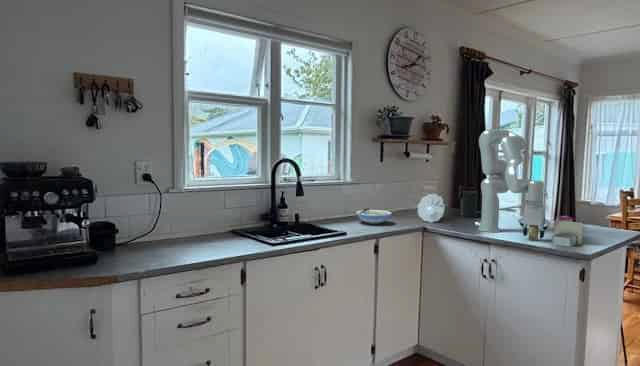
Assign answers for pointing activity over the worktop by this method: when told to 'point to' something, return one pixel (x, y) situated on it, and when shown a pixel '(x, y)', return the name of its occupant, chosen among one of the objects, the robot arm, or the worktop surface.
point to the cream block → (567, 233)
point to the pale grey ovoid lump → (431, 208)
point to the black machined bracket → (468, 202)
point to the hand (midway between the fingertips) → (533, 236)
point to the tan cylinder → (533, 233)
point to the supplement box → (565, 218)
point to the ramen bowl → (373, 216)
